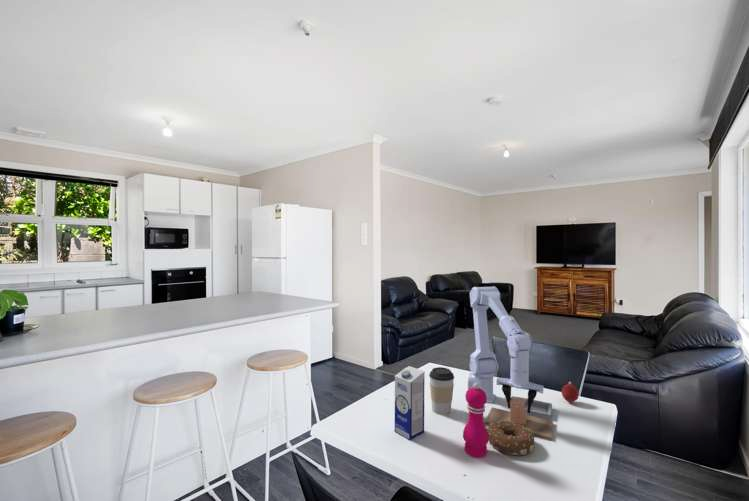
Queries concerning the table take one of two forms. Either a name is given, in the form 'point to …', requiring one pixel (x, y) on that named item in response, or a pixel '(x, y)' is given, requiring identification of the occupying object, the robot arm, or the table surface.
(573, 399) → the onion
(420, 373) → the milk carton
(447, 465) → the table surface
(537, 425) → the board
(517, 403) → the peach cube with handle
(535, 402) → the collar
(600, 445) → the table surface
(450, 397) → the coffee cup
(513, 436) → the donut
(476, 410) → the pepper mill
